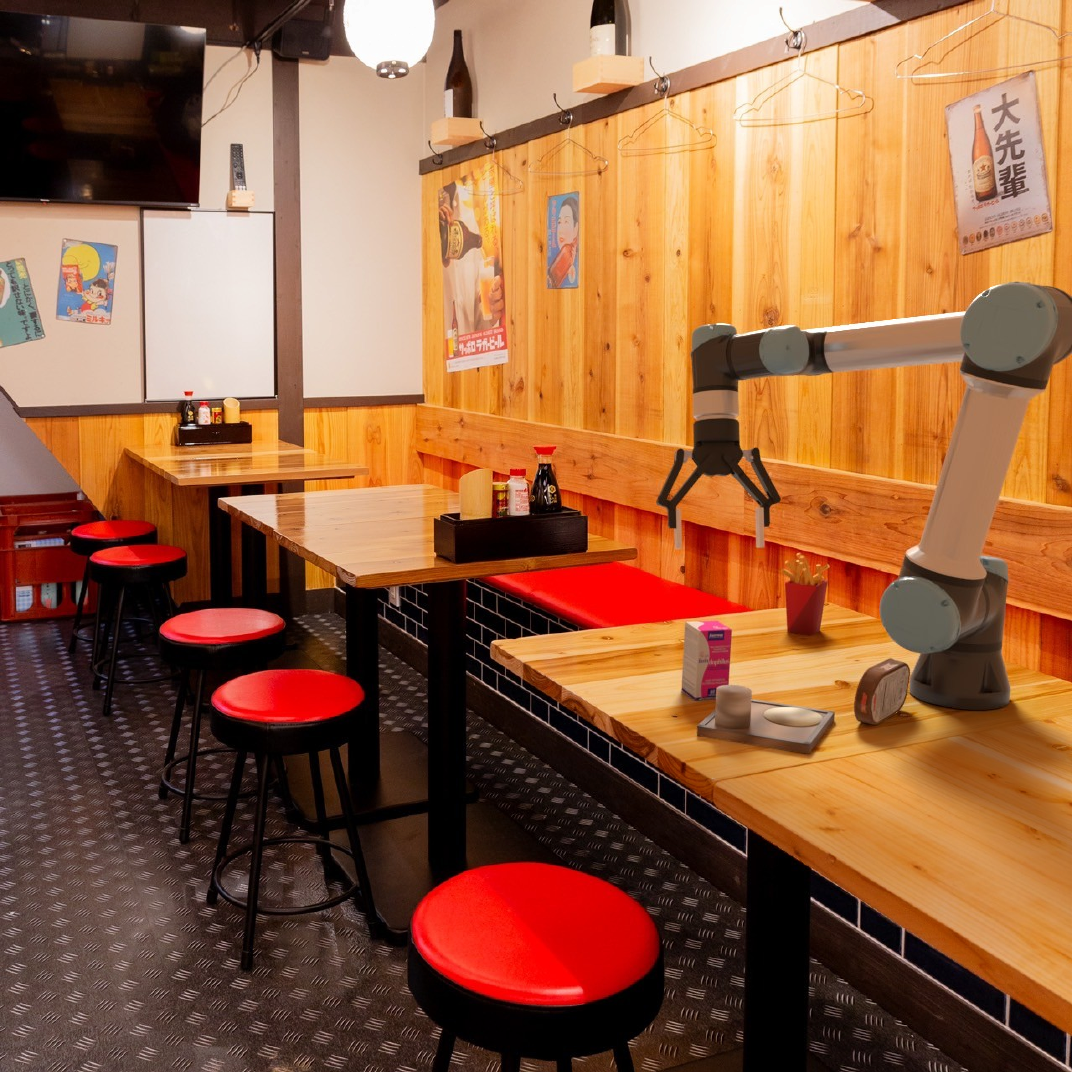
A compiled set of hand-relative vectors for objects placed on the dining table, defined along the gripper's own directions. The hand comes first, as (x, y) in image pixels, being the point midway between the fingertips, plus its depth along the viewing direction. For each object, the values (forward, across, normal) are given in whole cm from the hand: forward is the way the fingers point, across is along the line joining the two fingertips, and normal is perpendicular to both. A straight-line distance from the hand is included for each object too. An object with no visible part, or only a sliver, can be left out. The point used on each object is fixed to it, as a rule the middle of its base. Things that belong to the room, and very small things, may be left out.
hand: (719, 548), depth 191 cm
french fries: (+16, -22, -34) cm, 43 cm away
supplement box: (+24, +4, +6) cm, 25 cm away
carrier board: (+27, -2, +21) cm, 34 cm away
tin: (+27, -20, +16) cm, 37 cm away
